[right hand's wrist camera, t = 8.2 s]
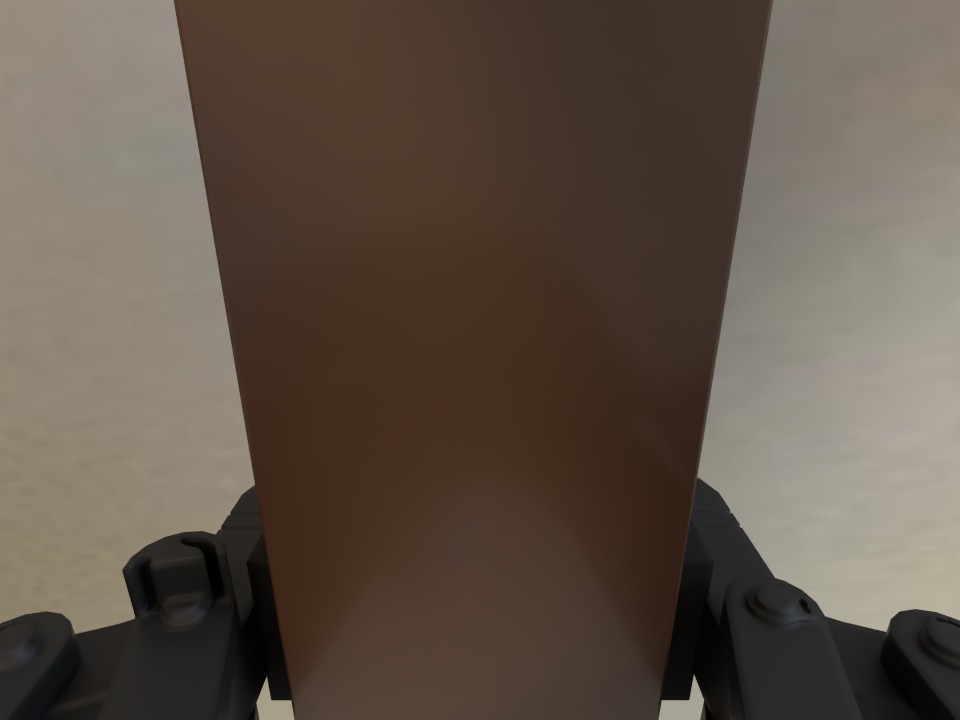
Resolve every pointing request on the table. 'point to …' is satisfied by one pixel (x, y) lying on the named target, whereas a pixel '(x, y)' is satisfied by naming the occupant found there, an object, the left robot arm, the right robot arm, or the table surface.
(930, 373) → the table surface
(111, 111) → the table surface
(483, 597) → the walnut beam
